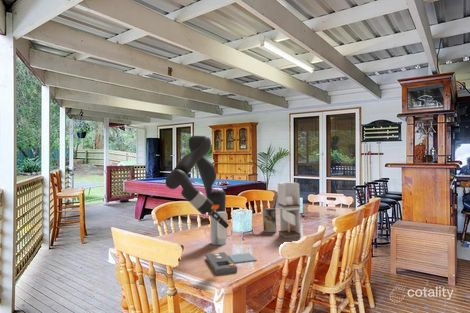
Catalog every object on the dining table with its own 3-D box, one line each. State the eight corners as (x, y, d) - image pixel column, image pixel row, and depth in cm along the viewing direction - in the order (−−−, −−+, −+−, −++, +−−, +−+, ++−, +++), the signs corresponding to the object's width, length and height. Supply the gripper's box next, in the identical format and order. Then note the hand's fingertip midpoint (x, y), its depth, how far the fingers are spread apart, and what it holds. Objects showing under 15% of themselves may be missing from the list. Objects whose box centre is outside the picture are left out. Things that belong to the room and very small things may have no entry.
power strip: (205, 256, 175) (204, 251, 175) (222, 254, 177) (222, 249, 177) (216, 274, 148) (216, 268, 148) (237, 272, 151) (237, 265, 151)
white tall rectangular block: (217, 236, 158) (216, 211, 157) (225, 236, 159) (224, 211, 159) (219, 238, 154) (218, 213, 154) (227, 238, 155) (226, 212, 155)
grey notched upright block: (279, 233, 222) (277, 182, 222) (293, 232, 224) (292, 182, 224) (285, 237, 211) (284, 184, 211) (300, 236, 213) (299, 183, 213)
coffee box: (276, 230, 232) (276, 207, 232) (276, 232, 226) (275, 209, 226) (263, 230, 234) (263, 207, 234) (263, 232, 227) (262, 209, 227)
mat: (228, 256, 175) (228, 255, 175) (249, 254, 178) (249, 252, 178) (234, 263, 163) (234, 262, 163) (256, 260, 166) (256, 259, 166)
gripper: (209, 198, 147) (235, 222, 151) (203, 194, 161) (227, 217, 164) (198, 211, 146) (224, 235, 149) (193, 206, 159) (217, 228, 163)
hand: (226, 225), depth 157 cm, fingers closed on white tall rectangular block, 4 cm apart
